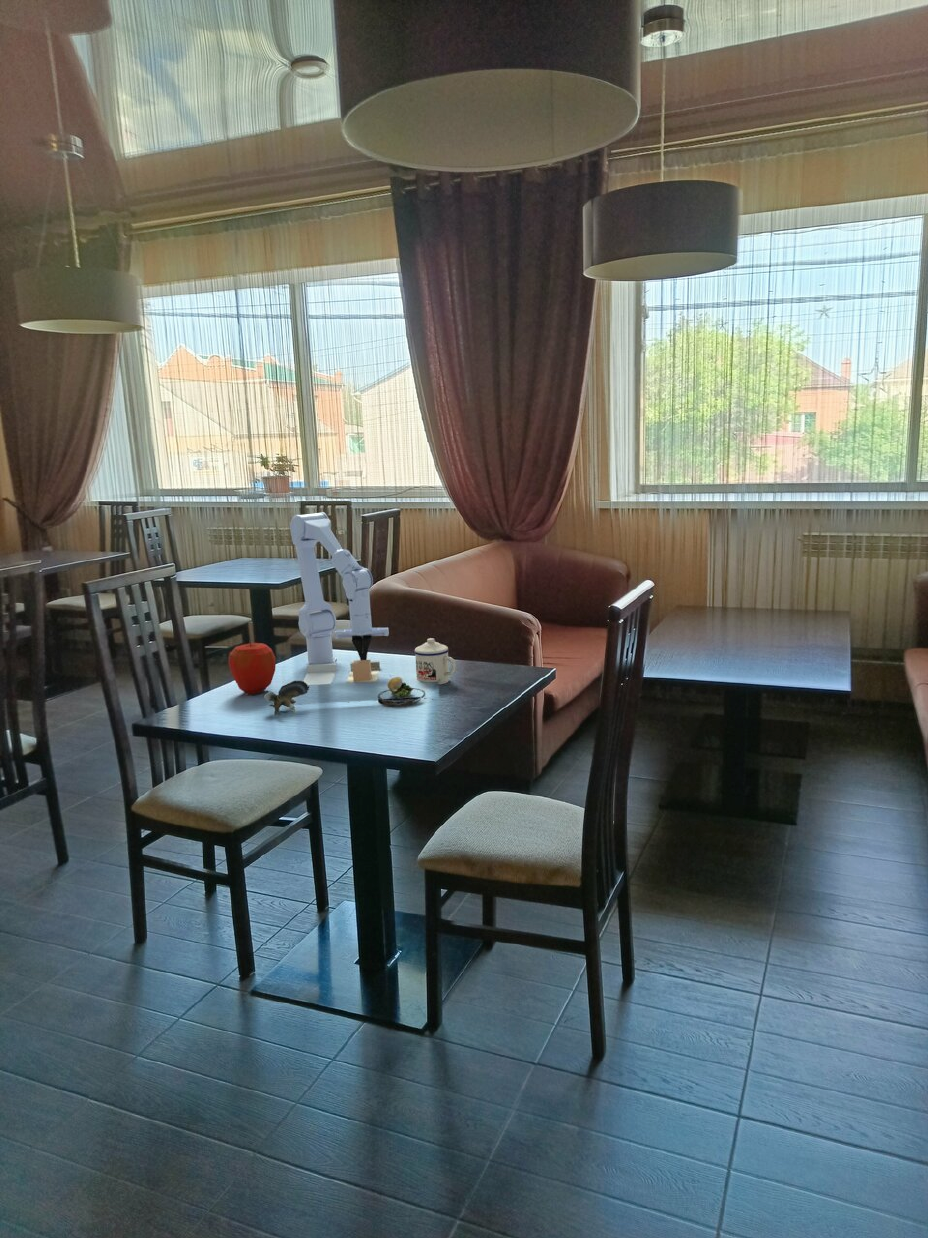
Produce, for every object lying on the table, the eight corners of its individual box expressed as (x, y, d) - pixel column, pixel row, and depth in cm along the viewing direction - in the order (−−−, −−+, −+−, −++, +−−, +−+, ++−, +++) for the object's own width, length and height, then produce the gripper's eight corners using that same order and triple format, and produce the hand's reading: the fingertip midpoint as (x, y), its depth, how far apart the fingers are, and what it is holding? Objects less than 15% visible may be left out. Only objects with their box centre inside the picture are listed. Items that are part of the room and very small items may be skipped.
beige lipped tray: (351, 672, 243) (350, 662, 242) (380, 671, 243) (379, 660, 243) (346, 686, 229) (345, 675, 229) (377, 684, 230) (376, 673, 229)
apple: (272, 698, 223) (267, 644, 220) (226, 700, 223) (220, 646, 220) (283, 685, 235) (278, 634, 232) (239, 686, 235) (234, 636, 232)
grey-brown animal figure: (295, 712, 206) (316, 694, 214) (275, 686, 205) (297, 669, 213) (275, 726, 210) (297, 707, 218) (255, 701, 210) (278, 683, 218)
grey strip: (308, 675, 243) (307, 664, 242) (337, 673, 243) (336, 663, 242) (301, 689, 229) (300, 678, 228) (331, 687, 229) (330, 676, 229)
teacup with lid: (409, 683, 230) (406, 641, 228) (429, 675, 237) (427, 633, 235) (445, 689, 223) (443, 645, 221) (466, 680, 230) (463, 637, 228)
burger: (418, 708, 209) (417, 678, 208) (371, 707, 212) (369, 677, 210) (430, 694, 221) (429, 665, 219) (385, 693, 223) (384, 665, 222)
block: (354, 676, 235) (353, 660, 234) (371, 675, 235) (370, 659, 234) (353, 681, 230) (352, 664, 230) (370, 680, 231) (369, 663, 230)
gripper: (331, 618, 232) (335, 667, 234) (386, 615, 232) (389, 664, 235) (334, 613, 239) (338, 661, 241) (387, 610, 239) (390, 658, 242)
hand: (363, 662), depth 238 cm, fingers closed
